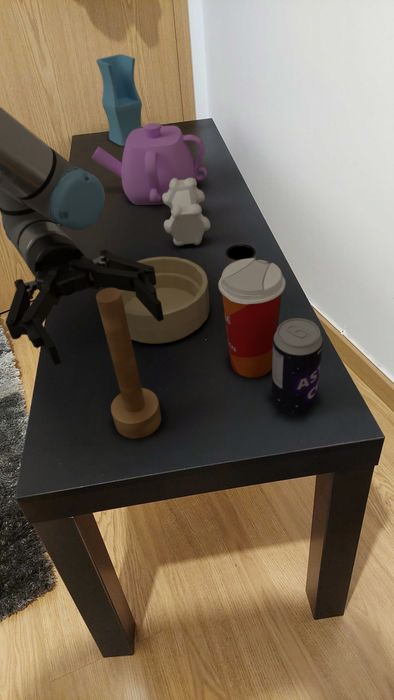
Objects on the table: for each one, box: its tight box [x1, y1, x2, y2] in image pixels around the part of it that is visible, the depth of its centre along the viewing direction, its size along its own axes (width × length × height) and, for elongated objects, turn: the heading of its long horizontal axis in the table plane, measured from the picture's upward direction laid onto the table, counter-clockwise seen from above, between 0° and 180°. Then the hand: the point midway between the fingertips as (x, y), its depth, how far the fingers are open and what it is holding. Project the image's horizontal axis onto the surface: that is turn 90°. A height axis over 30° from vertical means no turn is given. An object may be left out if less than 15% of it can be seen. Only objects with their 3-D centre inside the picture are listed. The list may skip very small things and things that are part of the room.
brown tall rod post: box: [95, 287, 162, 440], centre depth 59 cm, size 6×6×20 cm
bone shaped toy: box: [162, 178, 211, 247], centre depth 99 cm, size 15×9×8 cm, turn 5°
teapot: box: [91, 122, 208, 206], centre depth 111 cm, size 19×21×14 cm
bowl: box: [120, 256, 211, 345], centre depth 80 cm, size 16×16×6 cm
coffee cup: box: [218, 258, 286, 378], centre depth 67 cm, size 8×8×15 cm
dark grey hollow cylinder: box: [224, 243, 257, 268], centre depth 78 cm, size 4×4×10 cm
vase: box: [96, 53, 143, 147], centre depth 136 cm, size 8×8×20 cm
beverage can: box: [271, 317, 324, 415], centre depth 62 cm, size 6×6×12 cm
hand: (109, 333), depth 61 cm, fingers open, 13 cm apart
